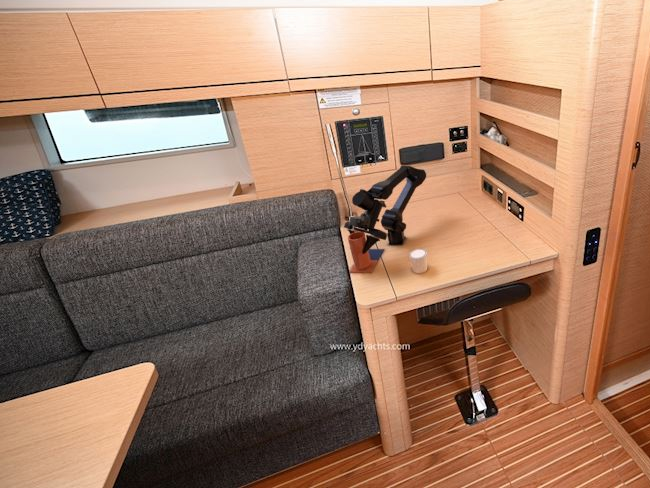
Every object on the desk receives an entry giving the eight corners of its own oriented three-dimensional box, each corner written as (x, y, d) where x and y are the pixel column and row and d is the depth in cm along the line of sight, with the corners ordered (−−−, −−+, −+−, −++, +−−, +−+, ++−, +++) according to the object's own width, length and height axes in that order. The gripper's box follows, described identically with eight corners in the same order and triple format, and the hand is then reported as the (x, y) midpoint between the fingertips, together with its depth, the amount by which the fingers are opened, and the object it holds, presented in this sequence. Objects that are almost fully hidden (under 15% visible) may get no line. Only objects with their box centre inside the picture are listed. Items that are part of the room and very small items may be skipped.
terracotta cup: (359, 258, 137) (352, 231, 132) (373, 259, 136) (367, 231, 130) (351, 268, 131) (344, 239, 126) (366, 269, 130) (360, 240, 125)
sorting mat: (384, 249, 145) (383, 249, 145) (371, 272, 130) (370, 272, 130) (364, 249, 146) (364, 249, 146) (349, 272, 132) (349, 271, 131)
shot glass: (421, 261, 134) (419, 246, 132) (432, 267, 130) (430, 252, 127) (407, 269, 130) (405, 254, 127) (419, 276, 125) (416, 260, 123)
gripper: (342, 203, 132) (326, 241, 128) (376, 211, 123) (360, 252, 118) (360, 212, 141) (346, 248, 137) (393, 220, 132) (379, 259, 128)
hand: (357, 251), depth 130 cm, fingers closed on terracotta cup, 6 cm apart
